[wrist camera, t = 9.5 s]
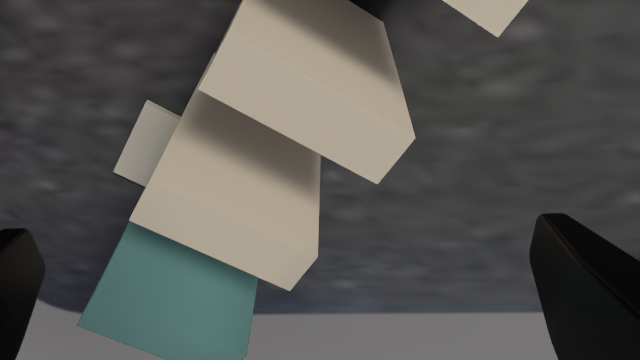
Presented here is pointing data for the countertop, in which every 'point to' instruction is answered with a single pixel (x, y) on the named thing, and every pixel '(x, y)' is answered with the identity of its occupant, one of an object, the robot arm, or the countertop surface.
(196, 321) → the end domino
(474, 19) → the domino
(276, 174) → the domino
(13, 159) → the countertop surface
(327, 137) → the domino
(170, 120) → the pad
